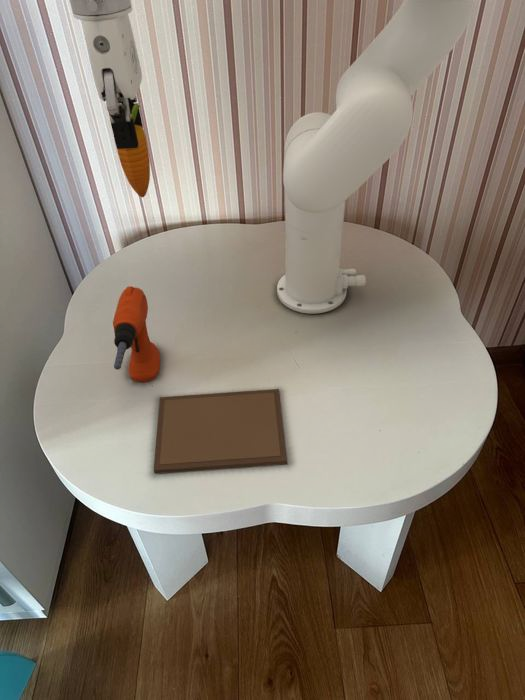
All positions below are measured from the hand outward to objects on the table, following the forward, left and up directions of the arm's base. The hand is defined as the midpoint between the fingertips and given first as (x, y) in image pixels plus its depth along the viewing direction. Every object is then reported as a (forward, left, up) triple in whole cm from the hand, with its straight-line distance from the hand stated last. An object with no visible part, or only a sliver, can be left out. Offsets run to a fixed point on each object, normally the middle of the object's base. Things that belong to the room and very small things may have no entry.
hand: (130, 137), depth 84 cm
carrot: (0, 0, -10) cm, 10 cm away
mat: (-11, +33, -29) cm, 46 cm away
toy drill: (+1, +24, -29) cm, 38 cm away
